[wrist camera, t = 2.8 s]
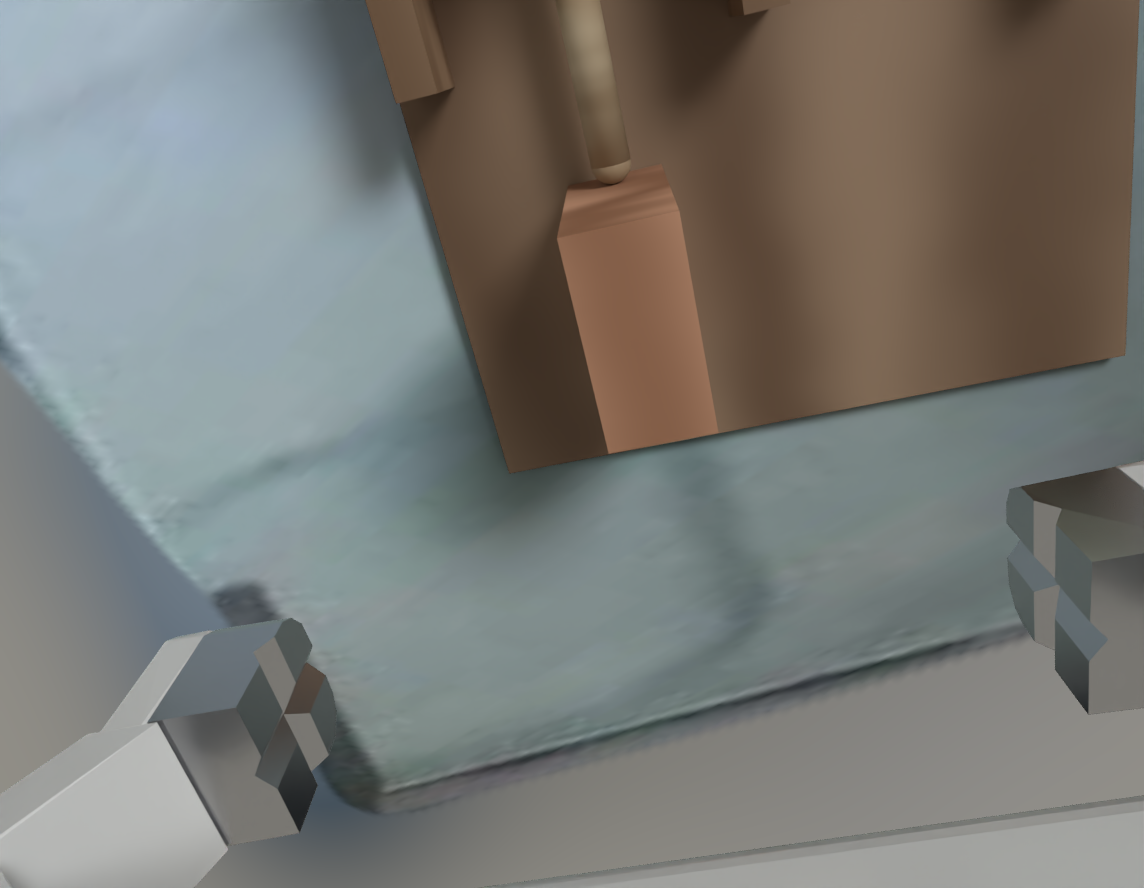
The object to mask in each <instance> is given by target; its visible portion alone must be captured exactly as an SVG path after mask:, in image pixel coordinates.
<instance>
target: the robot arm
mask: <svg viewBox="0 0 1144 888" xmlns="http://www.w3.org/2000/svg"><path fill="white" fill-rule="evenodd" d="M1006 516H1007V524H1008V525H1009V527H1010V528H1011V529H1012V530H1013V531H1014V533H1015V534H1016V535H1017V536H1018V537H1019V539H1020V541H1019V542H1018V544H1017V545H1016V547H1015V548H1014V549H1013V551H1012V552H1011V553H1010V555H1009V556H1008V558H1007V560H1008V577H1009V586H1010V590H1011V594H1012V597H1013V601H1014V605H1015V609H1016V611H1017V613H1018V615H1019V617H1020V619H1021V621H1022V623H1023V625H1024V627H1025V628H1026V630H1027V631H1028V633H1029V634H1030V635H1031V637H1032V638H1033V640H1034V641H1035V642H1037V643H1039V644H1042V645H1044V646H1046V647H1048V648H1050V649H1053V650H1055V670H1056V671H1057V673H1058V674H1059V676H1060V677H1061V678H1062V680H1063V681H1064V682H1065V684H1066V685H1067V686H1068V688H1069V689H1070V690H1071V692H1072V693H1073V695H1074V696H1075V697H1076V699H1077V700H1078V701H1079V703H1080V704H1081V705H1082V707H1083V708H1084V709H1085V711H1086V712H1087V713H1088V714H1089V715H1090V714H1098V713H1105V712H1114V711H1123V710H1130V709H1138V708H1144V461H1139V462H1135V463H1130V464H1126V465H1121V466H1116V467H1112V468H1108V469H1104V470H1099V471H1094V472H1089V473H1084V474H1079V475H1075V476H1070V477H1065V478H1060V479H1055V480H1050V481H1045V482H1041V483H1036V484H1031V485H1026V486H1021V487H1017V488H1012V489H1010V490H1009V494H1008V498H1007V502H1006ZM311 649H312V644H311V642H310V640H309V638H308V636H307V634H306V632H305V629H304V627H303V625H302V624H301V623H299V622H298V621H296V620H294V619H292V618H287V619H281V620H274V621H268V622H262V623H256V624H250V625H243V626H237V627H231V628H225V629H218V630H215V631H204V632H199V633H194V634H189V635H184V636H179V637H176V638H173V639H171V640H168V641H166V642H165V643H164V645H163V646H162V647H161V649H160V650H159V651H158V653H157V654H156V656H155V657H154V658H153V660H152V661H151V663H150V664H149V665H148V667H147V668H146V670H145V671H144V672H143V674H142V675H141V676H140V678H139V679H138V680H137V682H136V683H135V685H134V686H133V688H132V689H131V690H130V692H129V693H128V694H127V696H126V697H125V698H124V700H123V701H122V703H121V704H120V705H119V707H118V708H117V710H116V711H115V712H114V714H113V715H112V717H111V718H110V719H109V721H108V722H107V724H106V725H105V726H104V728H103V729H102V730H101V732H96V733H90V734H87V735H86V736H84V737H83V738H81V739H80V740H79V741H77V742H75V743H74V744H73V745H71V746H70V747H68V748H67V749H65V750H64V751H63V752H61V753H60V754H58V755H57V756H55V757H54V758H52V759H51V760H49V761H48V762H46V763H45V764H44V765H42V766H41V767H39V768H38V769H36V770H35V771H33V772H32V773H31V774H29V775H28V776H26V777H25V778H23V779H22V780H20V781H19V782H18V783H16V784H15V785H13V786H12V787H10V788H9V789H7V790H6V791H4V792H3V793H2V794H0V888H194V887H195V886H196V885H197V884H198V883H199V882H200V881H201V880H202V878H203V877H204V876H205V875H206V874H207V873H208V872H209V871H210V870H211V868H212V867H213V866H214V865H215V864H216V863H217V862H218V861H219V860H220V858H221V857H222V856H223V855H224V854H225V853H226V852H227V851H228V848H227V846H231V845H236V844H242V843H248V842H253V841H258V840H264V839H269V838H275V837H281V836H286V835H292V834H297V833H300V831H301V828H302V825H303V822H304V820H305V818H306V815H307V812H308V810H309V807H310V804H311V801H312V799H313V796H314V794H315V791H316V788H317V783H316V781H315V778H314V776H313V774H312V772H311V771H312V770H313V769H315V768H316V767H317V766H318V765H319V764H320V763H321V762H322V761H323V760H324V759H325V758H326V757H327V756H328V755H329V753H330V750H331V747H332V744H333V742H334V739H335V736H336V715H337V710H336V706H335V701H334V696H333V692H332V689H331V687H330V685H329V682H328V680H327V677H326V675H324V674H323V673H321V672H320V671H318V670H317V669H315V668H314V667H313V666H311V665H310V664H308V663H307V661H308V658H309V655H310V652H311ZM481 888H1144V796H1137V797H1130V798H1122V799H1115V800H1108V801H1100V802H1093V803H1086V804H1078V805H1072V806H1064V807H1057V808H1050V809H1043V810H1035V811H1028V812H1021V813H1014V814H1006V815H999V816H992V817H984V818H977V819H970V820H963V821H956V822H948V823H941V824H934V825H926V826H920V827H912V828H906V829H898V830H890V831H883V832H877V833H869V834H862V835H854V836H847V837H840V838H832V839H825V840H818V841H811V842H804V843H797V844H789V845H782V846H775V847H767V848H760V849H753V850H746V851H739V852H732V853H725V854H717V855H710V856H703V857H696V858H689V859H682V860H675V861H668V862H661V863H654V864H647V865H639V866H632V867H625V868H618V869H611V870H603V871H596V872H589V873H582V874H574V875H567V876H560V877H553V878H546V879H538V880H531V881H524V882H517V883H510V884H503V885H495V886H488V887H481Z"/></svg>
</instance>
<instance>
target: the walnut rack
mask: <svg viewBox="0 0 1144 888" xmlns="http://www.w3.org/2000/svg"><path fill="white" fill-rule="evenodd" d="M365 1H366V4H367V8H368V11H369V15H370V18H371V21H372V25H373V28H374V31H375V35H376V38H377V41H378V45H379V48H380V51H381V55H382V58H383V62H384V65H385V68H386V72H387V75H388V78H389V82H390V85H391V88H392V92H393V95H394V99H395V102H396V104H397V103H400V106H401V109H402V113H403V116H404V119H405V123H406V126H407V129H408V133H409V136H410V140H411V143H412V146H413V150H414V153H415V157H416V160H417V163H418V167H419V170H420V173H421V177H422V180H423V184H424V187H425V190H426V194H427V197H428V200H429V204H430V207H431V211H432V214H433V217H434V221H435V224H436V227H437V231H438V234H439V238H440V241H441V244H442V248H443V251H444V254H445V258H446V261H447V265H448V268H449V271H450V275H451V278H452V282H453V285H454V288H455V292H456V295H457V298H458V302H459V305H460V309H461V312H462V315H463V319H464V322H465V325H466V329H467V332H468V336H469V339H470V342H471V346H472V349H473V352H474V356H475V359H476V363H477V366H478V369H479V373H480V376H481V379H482V383H483V386H484V390H485V393H486V396H487V400H488V403H489V407H490V410H491V413H492V417H493V420H494V423H495V427H496V430H497V434H498V437H499V440H500V444H501V447H502V450H503V454H504V457H505V461H506V464H507V467H508V471H509V473H515V472H520V471H525V470H530V469H536V468H541V467H546V466H551V465H556V464H562V463H567V462H572V461H577V460H582V459H588V458H593V457H598V456H603V455H608V454H609V453H608V449H607V444H606V440H605V436H604V432H603V428H602V424H601V420H600V415H599V411H598V407H597V403H596V399H595V395H594V390H593V386H592V382H591V378H590V374H589V370H588V365H587V361H586V357H585V353H584V349H583V345H582V341H581V336H580V332H579V328H578V324H577V320H576V316H575V311H574V307H573V303H572V299H571V295H570V291H569V286H568V282H567V278H566V274H565V270H564V266H563V262H562V257H561V253H560V249H559V245H558V241H557V236H558V231H559V226H560V221H561V217H562V212H563V207H564V203H565V198H566V193H567V188H568V186H569V185H574V184H578V183H582V182H586V181H591V180H595V179H597V178H596V177H595V176H594V174H593V172H592V170H591V166H590V161H589V157H588V152H587V147H586V143H585V138H584V133H583V129H582V124H581V119H580V115H579V110H578V106H577V101H576V96H575V92H574V87H573V82H572V78H571V73H570V69H569V64H568V59H567V55H566V50H565V45H564V41H563V36H562V31H561V27H560V22H559V18H558V13H557V8H556V4H555V0H365ZM600 4H601V9H602V14H603V20H604V25H605V30H606V35H607V40H608V45H609V50H610V55H611V60H612V66H613V71H614V76H615V81H616V86H617V91H618V96H619V101H620V106H621V112H622V117H623V122H624V127H625V132H626V137H627V142H628V147H629V152H630V158H631V167H630V171H633V170H637V169H642V168H646V167H650V166H654V165H659V164H662V167H663V169H664V172H665V175H666V177H667V180H668V182H669V185H670V188H671V190H672V193H673V196H674V198H675V201H676V203H677V206H678V209H679V212H680V218H681V223H682V229H683V235H684V240H685V246H686V252H687V257H688V263H689V269H690V274H691V280H692V286H693V291H694V297H695V303H696V308H697V314H698V320H699V325H700V331H701V337H702V342H703V348H704V354H705V359H706V365H707V371H708V376H709V382H710V388H711V393H712V399H713V405H714V410H715V416H716V422H717V427H718V433H723V432H728V431H733V430H739V429H744V428H749V427H754V426H759V425H765V424H770V423H775V422H780V421H785V420H791V419H796V418H801V417H806V416H812V415H817V414H822V413H827V412H832V411H838V410H843V409H848V408H853V407H858V406H864V405H869V404H874V403H879V402H884V401H890V400H895V399H900V398H905V397H910V396H916V395H921V394H926V393H931V392H936V391H942V390H947V389H952V388H957V387H963V386H968V385H973V384H978V383H983V382H989V381H994V380H999V379H1004V378H1009V377H1015V376H1020V375H1025V374H1030V373H1035V372H1041V371H1046V370H1051V369H1056V368H1061V367H1067V366H1072V365H1077V364H1082V363H1087V362H1093V361H1098V360H1103V359H1108V358H1114V357H1119V356H1124V355H1125V349H1126V324H1127V298H1128V273H1129V248H1130V223H1131V198H1132V172H1133V147H1134V122H1135V97H1136V71H1137V46H1138V21H1139V0H600ZM718 433H714V434H718ZM709 435H713V434H709ZM704 436H707V435H704ZM698 437H702V436H698ZM693 438H697V437H693ZM688 439H692V438H688ZM683 440H687V439H683ZM678 441H681V440H678ZM672 442H676V441H672ZM667 443H671V442H667ZM662 444H666V443H662ZM657 445H660V444H657ZM652 446H655V445H652ZM646 447H650V446H646ZM641 448H645V447H641ZM636 449H640V448H636ZM631 450H634V449H631ZM626 451H629V450H626ZM620 452H624V451H620ZM615 453H619V452H615ZM610 454H614V453H610Z"/></svg>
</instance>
